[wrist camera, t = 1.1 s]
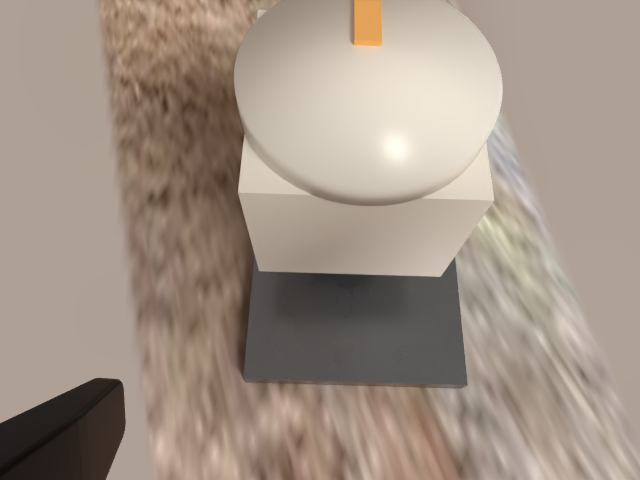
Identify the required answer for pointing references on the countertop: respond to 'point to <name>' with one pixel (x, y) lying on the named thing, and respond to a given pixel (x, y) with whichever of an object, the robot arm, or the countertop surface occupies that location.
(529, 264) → the countertop surface
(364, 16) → the knob
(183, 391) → the countertop surface
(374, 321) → the plate
